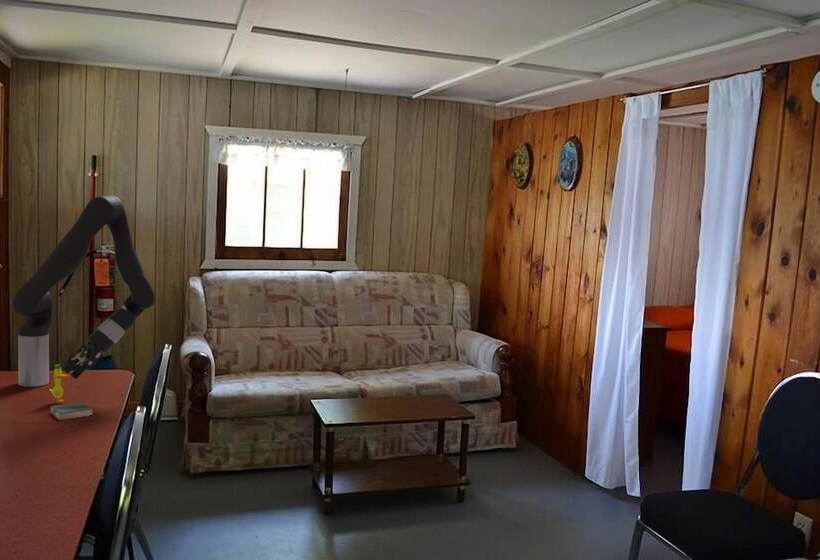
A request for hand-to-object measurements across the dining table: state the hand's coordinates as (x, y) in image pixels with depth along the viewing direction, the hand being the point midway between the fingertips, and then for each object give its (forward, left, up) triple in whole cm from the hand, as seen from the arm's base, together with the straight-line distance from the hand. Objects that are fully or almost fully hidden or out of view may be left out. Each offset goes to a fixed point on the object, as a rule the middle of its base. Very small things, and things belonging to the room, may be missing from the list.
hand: (68, 374), depth 222 cm
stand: (+15, -3, -9) cm, 18 cm away
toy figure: (0, -2, -9) cm, 9 cm away
